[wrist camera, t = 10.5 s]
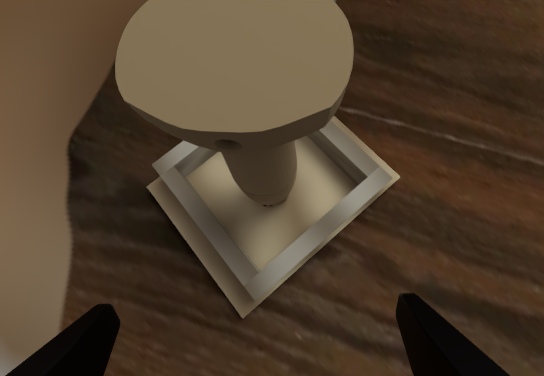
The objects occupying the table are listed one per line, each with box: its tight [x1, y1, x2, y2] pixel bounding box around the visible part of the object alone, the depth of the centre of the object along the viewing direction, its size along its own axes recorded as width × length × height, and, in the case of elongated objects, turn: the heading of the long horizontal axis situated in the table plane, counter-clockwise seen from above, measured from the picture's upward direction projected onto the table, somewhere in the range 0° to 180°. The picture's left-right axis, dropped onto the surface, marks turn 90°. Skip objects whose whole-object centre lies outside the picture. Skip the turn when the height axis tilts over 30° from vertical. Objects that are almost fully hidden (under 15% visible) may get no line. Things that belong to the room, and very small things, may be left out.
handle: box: [115, 0, 354, 208], centre depth 15 cm, size 5×6×15 cm
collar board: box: [147, 116, 400, 318], centre depth 21 cm, size 16×13×4 cm
